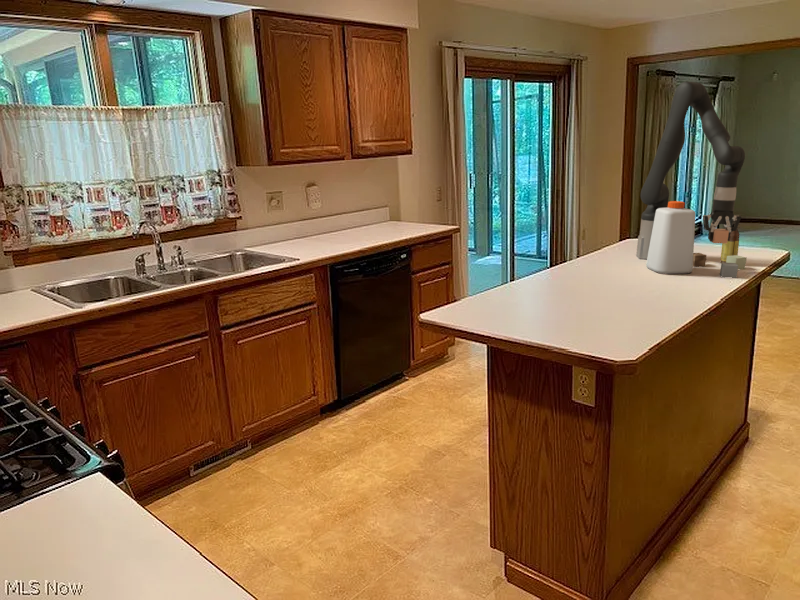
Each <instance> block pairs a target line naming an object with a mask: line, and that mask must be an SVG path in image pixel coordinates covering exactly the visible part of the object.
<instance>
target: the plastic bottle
mask: <svg viewBox="0 0 800 600" xmlns="http://www.w3.org/2000/svg"><path fill="white" fill-rule="evenodd" d="M685 204H686V203H685V202H684V201H681V200H680V201H679V200H670V201H669V200H668V206H667V208H658V209H657V210H656V213H655V218H654V224H653V229H652V235H651V240H650V246H649V251H648V257H647V259H646V263H645V266H646V268H647V269H649V270H651V271H653V272H655V273H657V274H662V275H685V274H690V273H692V272H693V270H694V269H693V268H694V267H693V253H695V252H694V250H695V231H696V230H695V228H696V211H694V209H690V208H685Z"/></svg>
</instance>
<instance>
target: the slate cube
mask: <svg viewBox="0 0 800 600" xmlns="http://www.w3.org/2000/svg"><path fill="white" fill-rule="evenodd" d="M738 271H739V270H738V265H737V264H736V263H724V262H721V261H720V270H719V276H722V277H721V278H725V277H732V278H731V279H737V277H738Z"/></svg>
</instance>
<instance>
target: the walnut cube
mask: <svg viewBox="0 0 800 600" xmlns="http://www.w3.org/2000/svg"><path fill="white" fill-rule="evenodd" d="M706 263H707V254H705V253H701V252H693V268H700V267H699V266H705V267H706Z"/></svg>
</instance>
